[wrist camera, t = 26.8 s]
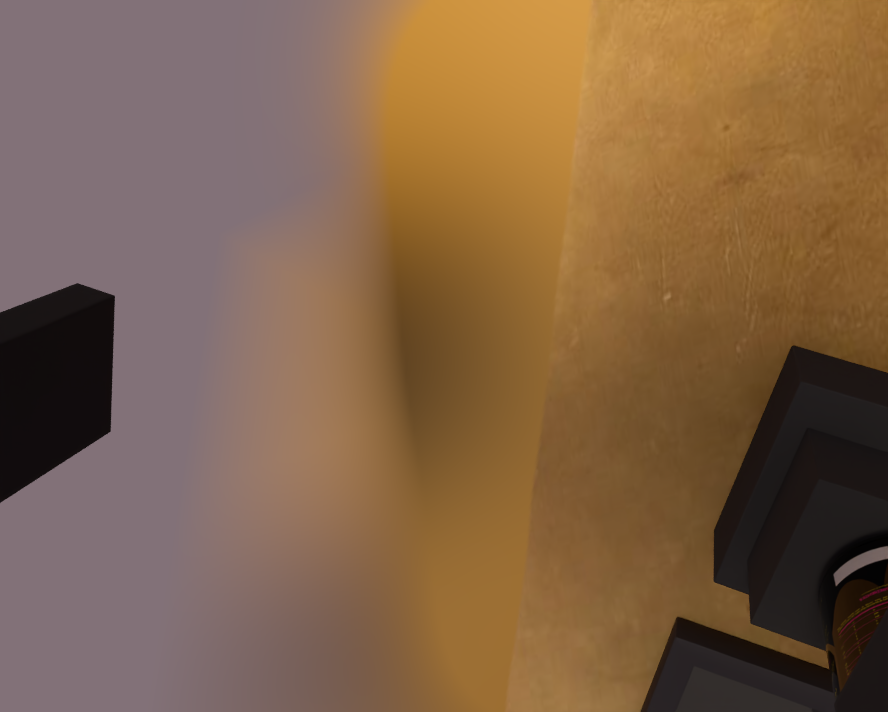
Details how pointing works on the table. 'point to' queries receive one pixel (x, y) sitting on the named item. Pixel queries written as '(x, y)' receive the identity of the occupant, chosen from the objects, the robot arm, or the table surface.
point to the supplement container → (853, 604)
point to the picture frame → (733, 676)
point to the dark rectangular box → (795, 444)
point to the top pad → (814, 530)
